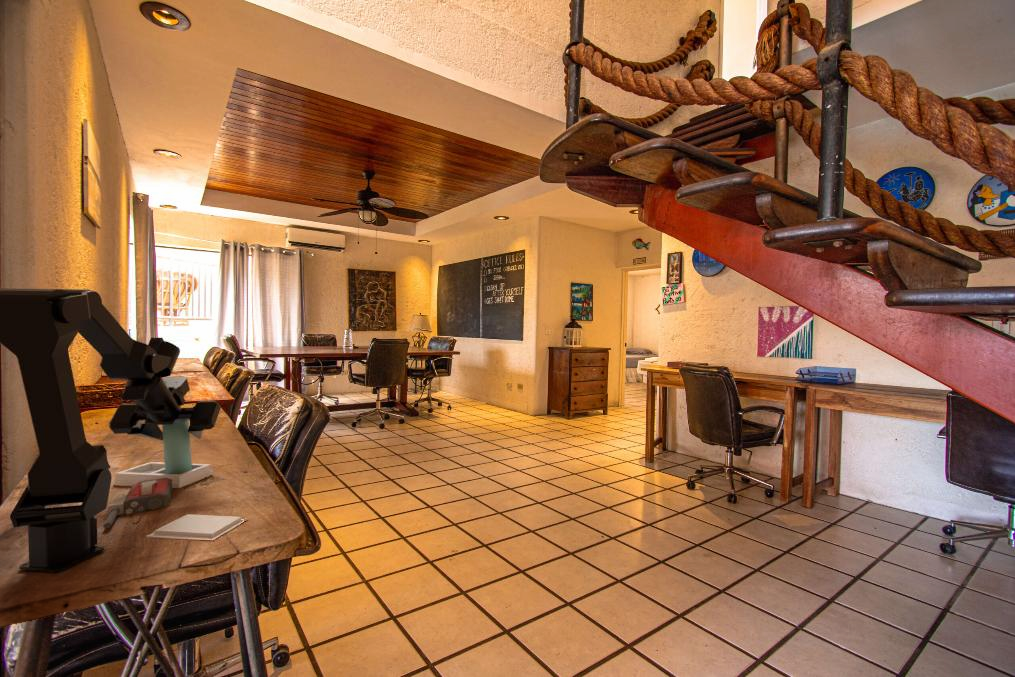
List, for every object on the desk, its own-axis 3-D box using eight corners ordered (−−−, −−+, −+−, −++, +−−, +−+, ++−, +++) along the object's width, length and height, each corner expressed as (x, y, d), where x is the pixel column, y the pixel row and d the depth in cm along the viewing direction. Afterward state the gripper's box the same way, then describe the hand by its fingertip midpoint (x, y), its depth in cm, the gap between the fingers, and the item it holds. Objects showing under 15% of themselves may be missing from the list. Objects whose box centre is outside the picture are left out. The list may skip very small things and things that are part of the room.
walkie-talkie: (119, 498, 90) (98, 536, 73) (119, 476, 90) (97, 509, 73) (174, 489, 95) (165, 523, 78) (173, 468, 95) (164, 498, 78)
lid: (248, 523, 78) (248, 515, 78) (212, 545, 70) (212, 536, 70) (187, 519, 80) (187, 512, 80) (145, 540, 72) (145, 532, 72)
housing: (178, 488, 94) (178, 476, 94) (113, 485, 96) (113, 473, 96) (212, 474, 103) (212, 463, 103) (151, 472, 105) (151, 461, 105)
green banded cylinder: (183, 478, 97) (179, 419, 96) (159, 479, 96) (155, 420, 95) (197, 470, 102) (193, 414, 101) (174, 471, 101) (170, 414, 100)
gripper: (216, 364, 97) (236, 406, 108) (116, 366, 93) (148, 410, 104) (200, 406, 89) (223, 447, 100) (90, 410, 85) (127, 452, 96)
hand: (181, 437), depth 100 cm, fingers open, 7 cm apart
